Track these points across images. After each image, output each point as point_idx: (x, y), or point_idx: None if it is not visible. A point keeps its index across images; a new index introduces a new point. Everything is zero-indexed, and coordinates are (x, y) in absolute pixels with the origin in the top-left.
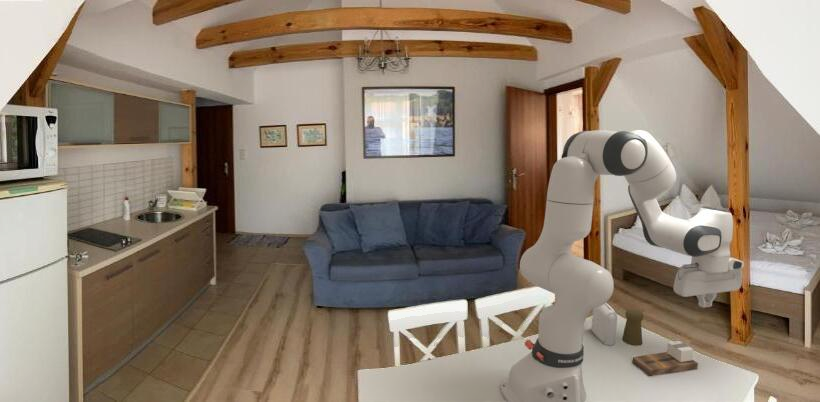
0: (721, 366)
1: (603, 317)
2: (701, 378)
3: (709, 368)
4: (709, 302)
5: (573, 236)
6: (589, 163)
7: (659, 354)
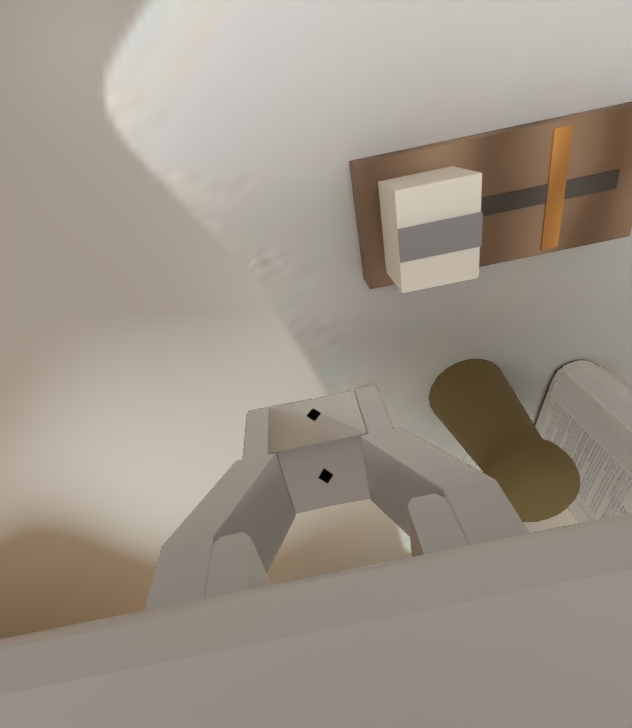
0: (207, 183)
1: None
2: (388, 67)
3: (281, 167)
4: (294, 440)
5: None
6: None
7: (487, 254)
